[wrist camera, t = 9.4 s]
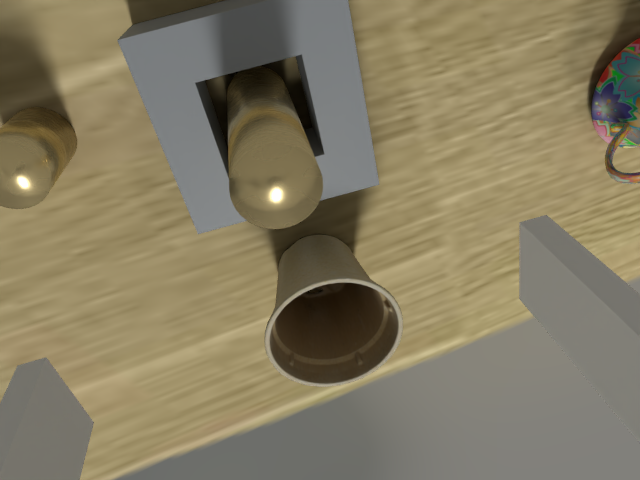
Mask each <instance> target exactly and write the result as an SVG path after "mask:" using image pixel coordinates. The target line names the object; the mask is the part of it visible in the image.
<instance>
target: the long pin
mask: <svg viewBox="0 0 640 480" xmlns="http://www.w3.org/2000/svg"><path fill="white" fill-rule="evenodd" d="M227 117H228V161H229V192H230V198H231V201H232V203H233V206H234V207H235V209H236V210H237V212H238V213H239V214H240V215H241V216H242V217H243V218H244V219H245V220H247V221H248V222H250V223H252V224H254V225H256V226H259V227H262V228H267V229H283V228H287V227H291V226H294V225H296V224H298V223H300V222H302V221H303V220H305V219H306V218H307V217H308V216H309V215H310V214H311V213H312V212H313V211H314V210H315V209H316V207H317V205H318V204H319V201H320V199H321V196H322V192H323V178H322V174H321V171H320V168H319V166H318V163H317V161H316V158H315V156H314V154H313V151H312V149H311V146H310V144H309V141H308V139H307V136H306V134H305V131H304V129H303V127H302V124H301V122H300V119H299V117H298V114H297V112H296V109H295V107H294V105H293V102H292V100H291V97H290V95H289V92H288V90H287V87H286V85H285V83H284V81H283V80H282V78H281V77H280V76H279V75H278V74H277V73H276V72H274V71H273V70H271V69H269V68H266V67H261V66H256V67H253V68H249V69H245V70H241V71H240V72H238V73H237V74H236V75H235V76H234V77H233V79H232V80H231V82H230V84H229V87H228V91H227Z"/></svg>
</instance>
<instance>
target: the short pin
mask: <svg viewBox="0 0 640 480" xmlns="http://www.w3.org/2000/svg"><path fill="white" fill-rule="evenodd" d="M76 148H77V138H76V134H75V132H74V129H73V128H72V126H71V125H70V123H69V122H68V121H67V120H66V119H65V118H64V117H62V116H61V115H60V114H58V113H56V112H54V111H52V110H49V109H46V108H41V107H31V108H26V109H23V110H21V111H19V112H18V113H17V114H16V115H14V116H13V117H12V118H11V119H10V120H9V121H8V122H6V123H5V124H4V125H3V126H2V127H1V128H0V206H3V207H7V208H13V209H24V208H29V207H32V206H35V205H37V204H38V203H40V202H41V201H42V200H43V199H44V198H45V197H46V196H47V194H48V193H49V191H50V190H51V188H52V187H53V185H54V184H55V182H56V181H57V179H58V178H59V176H60V175H61V174H62V172H63V171H64V169H65V168H66V166H67V165H68V163H69V162H70V160H71V159H72V157H73V156H74V154H75V152H76Z"/></svg>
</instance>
